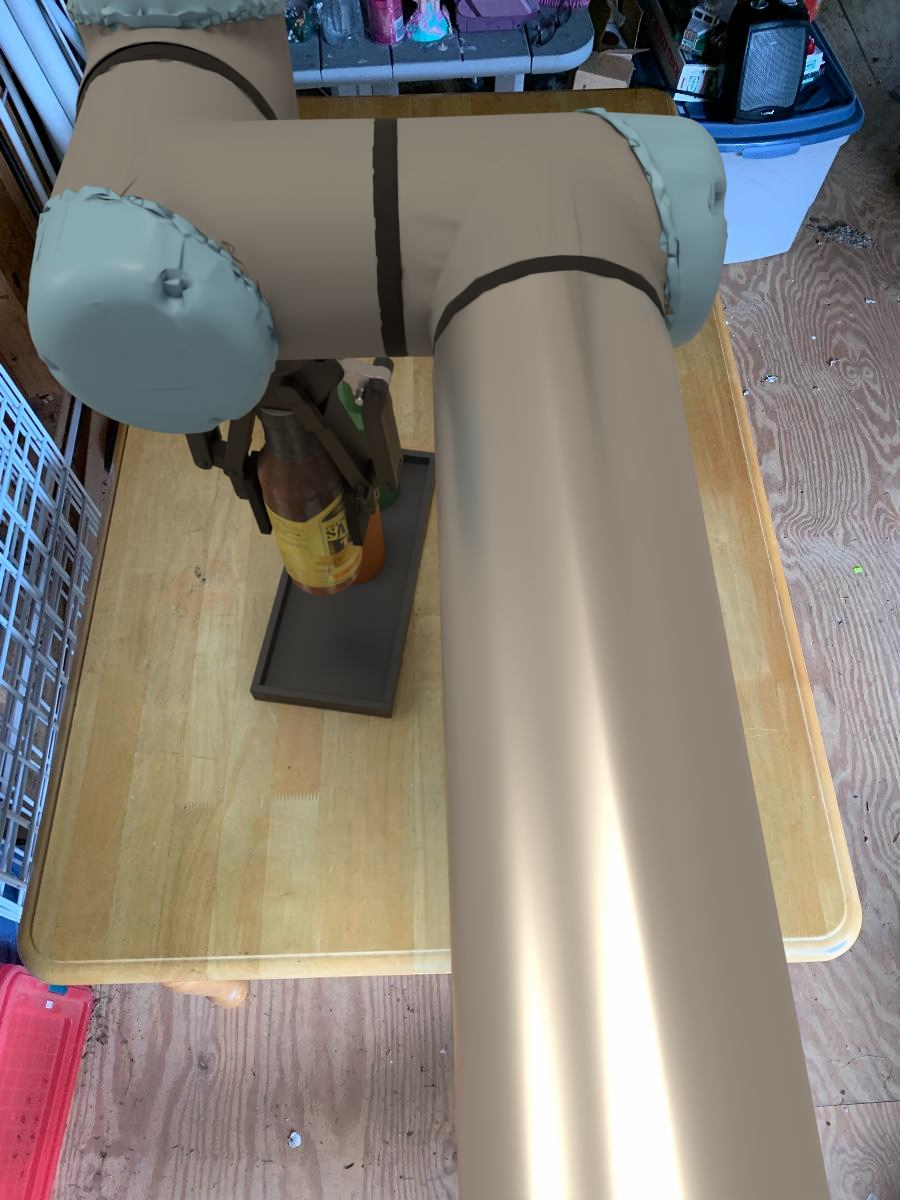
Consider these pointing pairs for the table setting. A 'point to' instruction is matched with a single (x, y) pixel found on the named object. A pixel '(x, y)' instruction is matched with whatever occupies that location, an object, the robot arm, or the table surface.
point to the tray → (351, 618)
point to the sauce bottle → (306, 505)
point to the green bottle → (355, 413)
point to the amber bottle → (372, 550)
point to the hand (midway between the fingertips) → (315, 524)
